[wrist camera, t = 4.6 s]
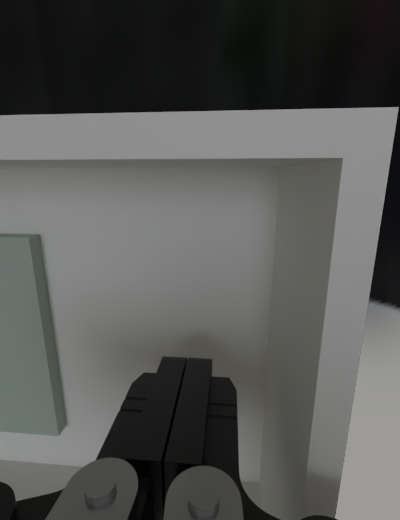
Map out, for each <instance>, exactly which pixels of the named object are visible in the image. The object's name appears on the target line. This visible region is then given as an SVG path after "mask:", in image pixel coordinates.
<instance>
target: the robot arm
mask: <svg viewBox="0 0 400 520" xmlns="http://www.w3.org/2000/svg"><path fill="white" fill-rule="evenodd" d="M0 520H280V519H278V518H276V517H274V516H272V515H270V514H268V513H266V512H265V511H263V510H262V509H260V508H259V507H258V506H257V505H256V504H255V503H254V502H253V501H252V500H251V499H250V498H249V496H248V495H247V493H246V492H245V490H244V488H243V486H242V484H241V480H240V475H239V452H238V420H237V390H236V388H235V386H234V385H233V383H232V381H231V380H230V378H229V377H213V376H212V359H206V358H188V359H187V357H170V356H163V357H162V359H161V362H160V365H159V367H158V370H157V373H147V372H144V373H143V374H142V375H141V376H139V377H138V378H137V379H136V380H135V381H134V382H133V383H132V384H131V386H130V388H129V390H128V393H127V395H126V398H125V399H124V401H123V403H122V405H121V407H120V411H119V412H118V414H117V416H116V418H115V420H114V422H113V424H112V426H111V429H110V431H109V433H108V435H107V437H106V439H105V441H104V443H103V445H102V448H101V450H100V452H99V454H98V456H97V458H96V460H95V461H93V462H91V463H89V464H87V465H85V466H84V467H82V468H81V469H80V470H79V471H77V472H76V473H75V474H74V475H73V476H72V478H71V479H70V480H69V482H68V483H67V485H66V486H65V488H64V489H62V490H59V491H57V492H53V493H50V494H45V495H41V496H37V497H32V498H28V499H23V500H19V501H16V498H15V494H14V491H13V489H12V488H11V487H10V486H9V485H8V484H6V483H3V482H0ZM301 520H337V519H334V518H331V517H328V516H323V515H313V516H308V517H305V518H303V519H301Z"/></svg>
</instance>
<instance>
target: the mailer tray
mask: <svg viewBox="0 0 400 520" xmlns="http://www.w3.org/2000/svg"><path fill="white" fill-rule="evenodd" d="M398 108H399V107H382V108H334V109H285V110H236V111H188V112H139V113H90V114H42V115H0V482H3V483H6V484H8V485H9V486H10V487H11V488H12V489H13V491H14V494H15V498H16V501H19V500H23V499H28V498H32V497H37V496H41V495H45V494H50V493H53V492H57V491H59V490H62V489H64V488H65V486H66V485H67V483H68V482H69V480H70V479H71V478H72V476H73V475H74V474H75V473H76V472H77V471H79V470H80V469H81V468H82V467H84V466H85V465H87V464H89V463H91V462H93V461H95V460H96V458H97V456H98V454H99V452H100V450H101V448H102V445H103V443H104V441H105V439H106V437H107V435H108V433H109V431H110V429H111V426H112V424H113V422H114V420H115V418H116V416H117V414H118V412H119V411H120V407H121V405H122V403H123V401H124V399H125V398H126V395H127V393H128V390H129V388H130V386H131V384H132V383H133V382H134V381H135V380H136V379H137V378H138V377H139V376H141V375H142V374H143V373H144V372H147V373H157V370H158V367H159V365H160V362H161V359H162V357H163V356H170V357H187V359H188V358H206V359H212V376H213V377H229V378H230V380H231V381H232V383H233V385H234V386H235V388H236V390H237V420H238V452H239V475H240V480H241V484H242V486H243V488H244V490H245V492H246V493H247V495H248V496H249V498H250V499H251V500H252V501H253V502H254V503H255V504H256V505H257V506H258V507H259V508H260V509H262V510H263V511H265V512H266V513H268V514H270V515H272V516H274V517H276V518H278V519H280V520H301V519H303V518H305V517H308V516H313V515H323V516H328V517H331V518H334V519H335V514H336V508H337V501H338V494H339V488H340V481H341V475H342V469H343V462H344V456H345V450H346V443H347V437H348V430H349V423H350V417H351V411H352V404H353V398H354V392H355V385H356V379H357V372H358V365H359V359H360V353H361V346H362V339H363V333H364V327H365V320H366V314H367V307H368V301H369V295H370V288H371V282H372V276H373V269H374V263H375V256H376V250H377V243H378V237H379V230H380V224H381V218H382V211H383V205H384V198H385V192H386V185H387V179H388V173H389V166H390V160H391V153H392V147H393V140H394V134H395V127H396V121H397V115H398Z"/></svg>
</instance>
